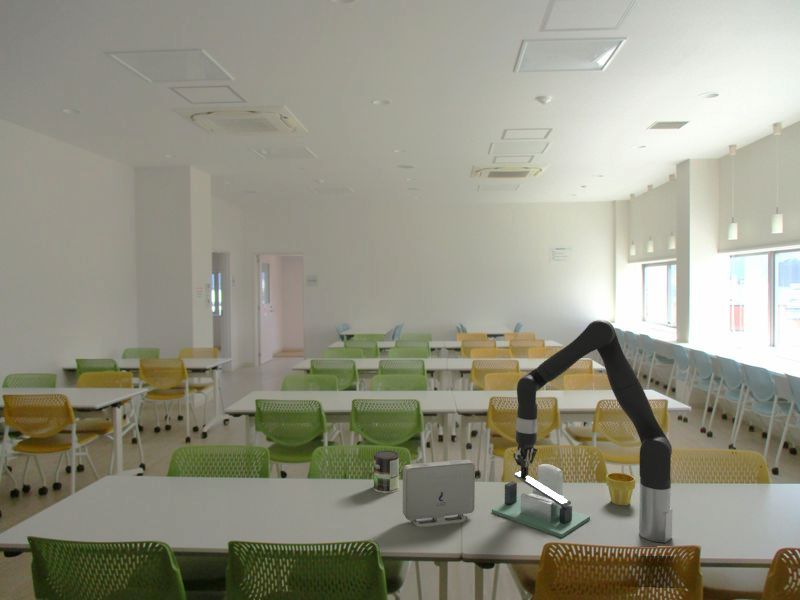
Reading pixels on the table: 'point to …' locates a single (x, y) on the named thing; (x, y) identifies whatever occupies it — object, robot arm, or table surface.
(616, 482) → the plant pot
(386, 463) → the coffee can
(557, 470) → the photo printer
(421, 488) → the network device
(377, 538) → the table surface
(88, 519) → the table surface
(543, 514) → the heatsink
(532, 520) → the mainboard
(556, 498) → the grey flat bar
